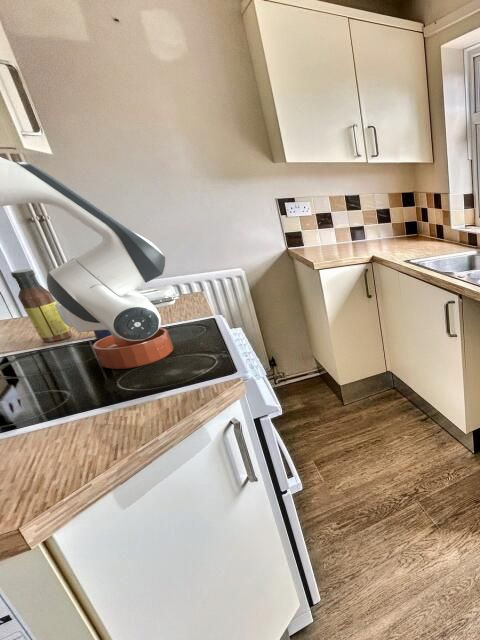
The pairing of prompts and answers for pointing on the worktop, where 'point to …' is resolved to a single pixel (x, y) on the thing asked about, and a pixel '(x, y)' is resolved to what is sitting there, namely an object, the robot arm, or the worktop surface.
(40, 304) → the sauce bottle
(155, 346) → the bowl
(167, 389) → the worktop surface
